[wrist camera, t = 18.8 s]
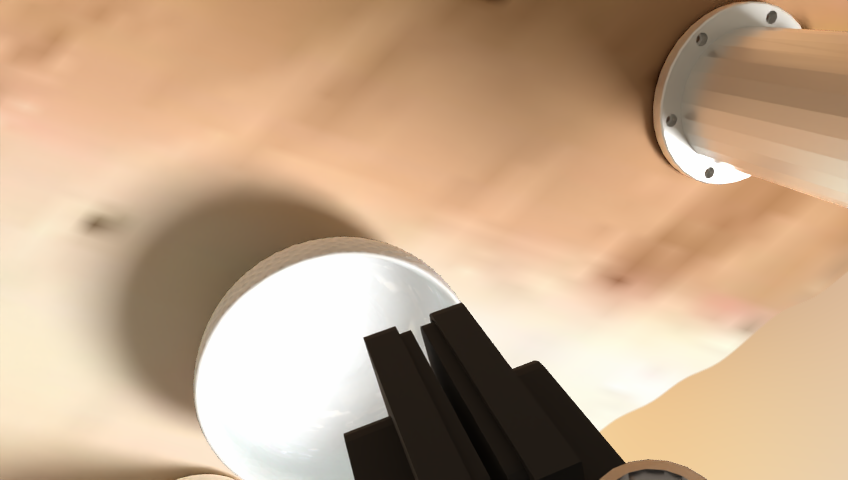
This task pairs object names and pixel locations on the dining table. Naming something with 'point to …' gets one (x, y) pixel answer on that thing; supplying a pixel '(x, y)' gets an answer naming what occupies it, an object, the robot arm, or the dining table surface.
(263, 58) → the dining table surface
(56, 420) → the dining table surface
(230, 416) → the cereal bowl
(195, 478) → the wine bottle
